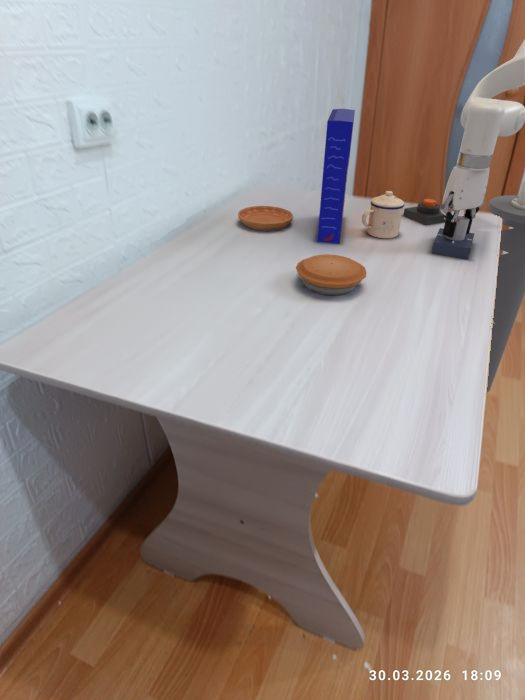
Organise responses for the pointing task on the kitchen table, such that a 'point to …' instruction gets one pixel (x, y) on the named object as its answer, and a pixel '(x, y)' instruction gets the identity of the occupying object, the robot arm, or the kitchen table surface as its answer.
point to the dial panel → (452, 246)
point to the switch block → (425, 214)
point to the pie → (330, 274)
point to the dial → (460, 228)
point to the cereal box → (335, 174)
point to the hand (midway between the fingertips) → (455, 233)
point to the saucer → (265, 217)
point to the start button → (429, 203)
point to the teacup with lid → (384, 216)
